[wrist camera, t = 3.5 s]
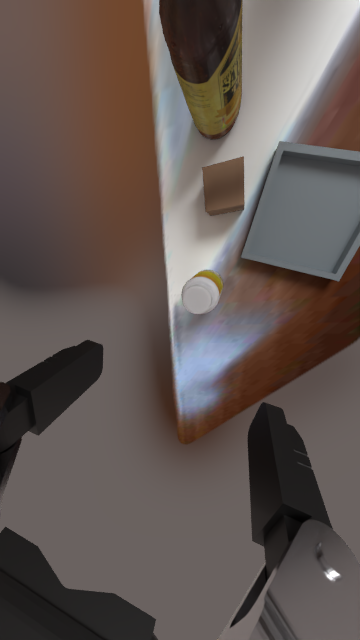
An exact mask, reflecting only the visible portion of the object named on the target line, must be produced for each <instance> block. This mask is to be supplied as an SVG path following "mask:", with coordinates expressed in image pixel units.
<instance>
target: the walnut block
mask: <svg viewBox="0 0 360 640" xmlns="http://www.w3.org/2000/svg"><path fill="white" fill-rule="evenodd" d="M202 170H203V183H204V196H205V209H206V212H207V213H208V214H209V215H210V216H213V215H218V214H223V213H228V212H234V211H239V210H244V156H243V157H240V158H236V159H232V160H229V161H225V162H221V163H218V164H214V165H210V166H207V167H203V168H202Z"/></svg>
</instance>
